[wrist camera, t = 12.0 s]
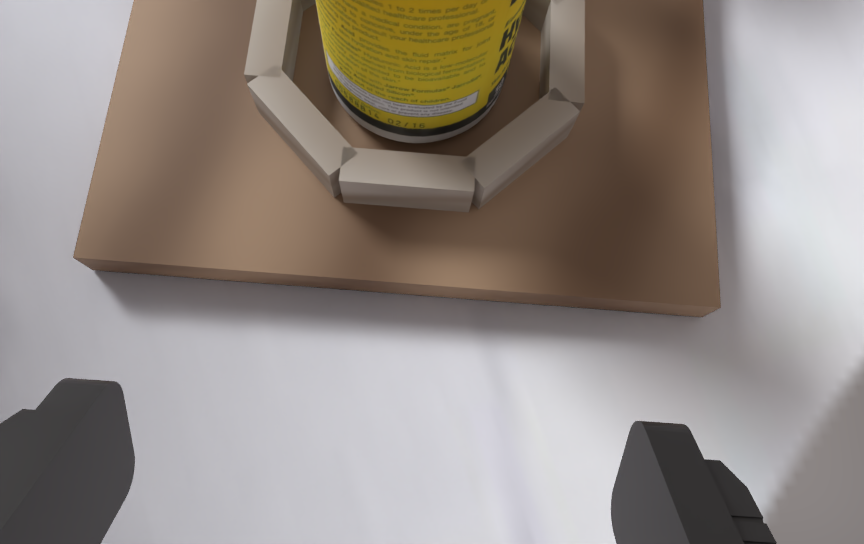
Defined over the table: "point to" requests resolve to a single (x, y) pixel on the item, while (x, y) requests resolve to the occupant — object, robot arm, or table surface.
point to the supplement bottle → (418, 62)
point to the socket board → (414, 163)
